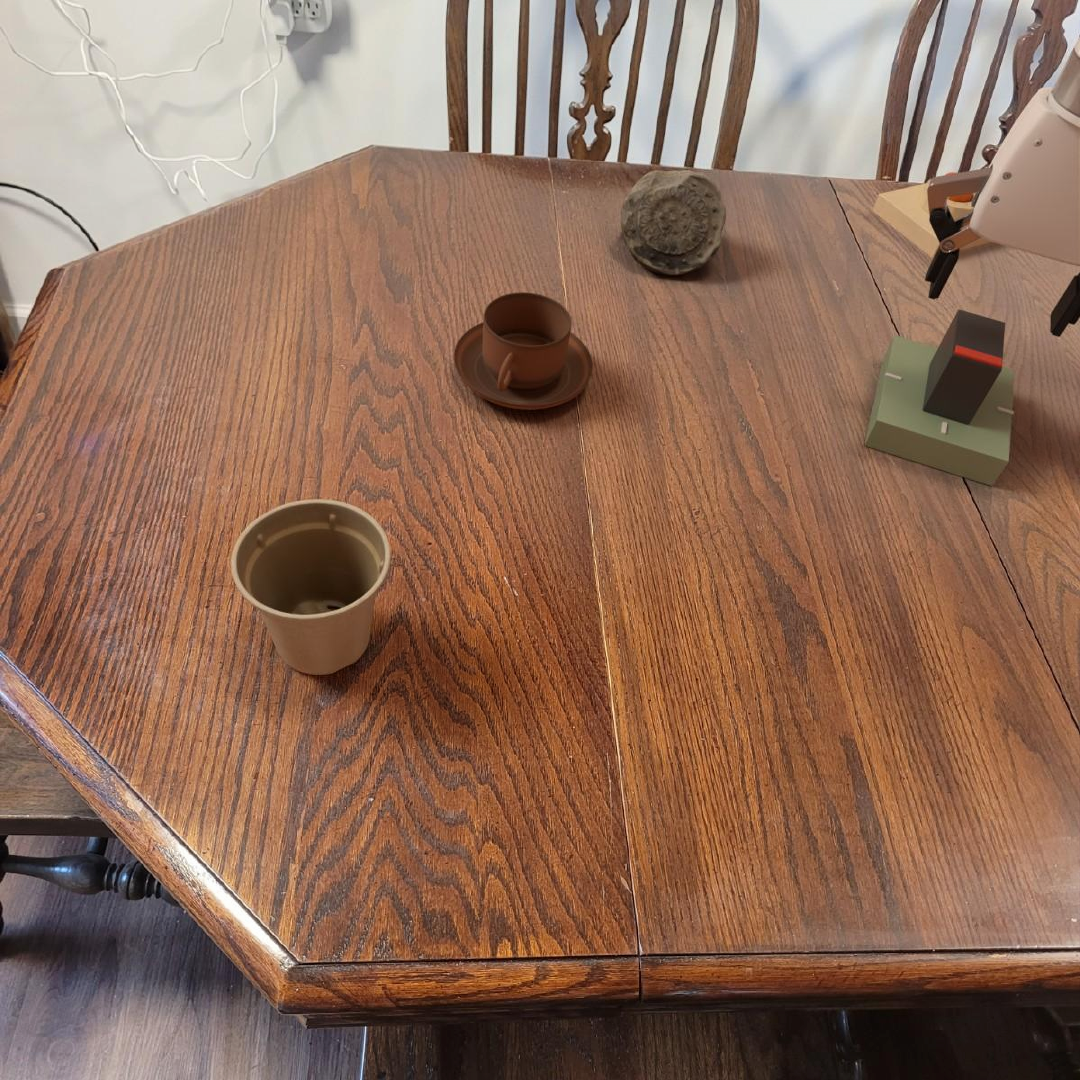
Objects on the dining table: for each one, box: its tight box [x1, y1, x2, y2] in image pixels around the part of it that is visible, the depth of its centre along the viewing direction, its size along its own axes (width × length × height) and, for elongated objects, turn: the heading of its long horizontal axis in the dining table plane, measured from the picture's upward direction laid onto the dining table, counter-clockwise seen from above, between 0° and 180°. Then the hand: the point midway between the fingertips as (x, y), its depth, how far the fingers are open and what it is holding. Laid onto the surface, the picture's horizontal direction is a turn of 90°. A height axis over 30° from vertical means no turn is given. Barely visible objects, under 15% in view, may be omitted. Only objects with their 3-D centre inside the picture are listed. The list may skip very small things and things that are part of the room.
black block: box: [923, 309, 1006, 425], centre depth 80 cm, size 7×4×6 cm, turn 159°
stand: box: [863, 334, 1015, 487], centre depth 83 cm, size 13×11×3 cm
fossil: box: [620, 169, 727, 277], centre depth 96 cm, size 11×9×10 cm
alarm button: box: [945, 171, 973, 203], centre depth 104 cm, size 4×4×2 cm
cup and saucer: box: [453, 291, 593, 411], centre depth 80 cm, size 12×12×6 cm
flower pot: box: [230, 498, 392, 676], centre depth 60 cm, size 9×9×9 cm
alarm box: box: [871, 178, 992, 259], centre depth 106 cm, size 12×10×4 cm
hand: (993, 308), depth 75 cm, fingers open, 9 cm apart
